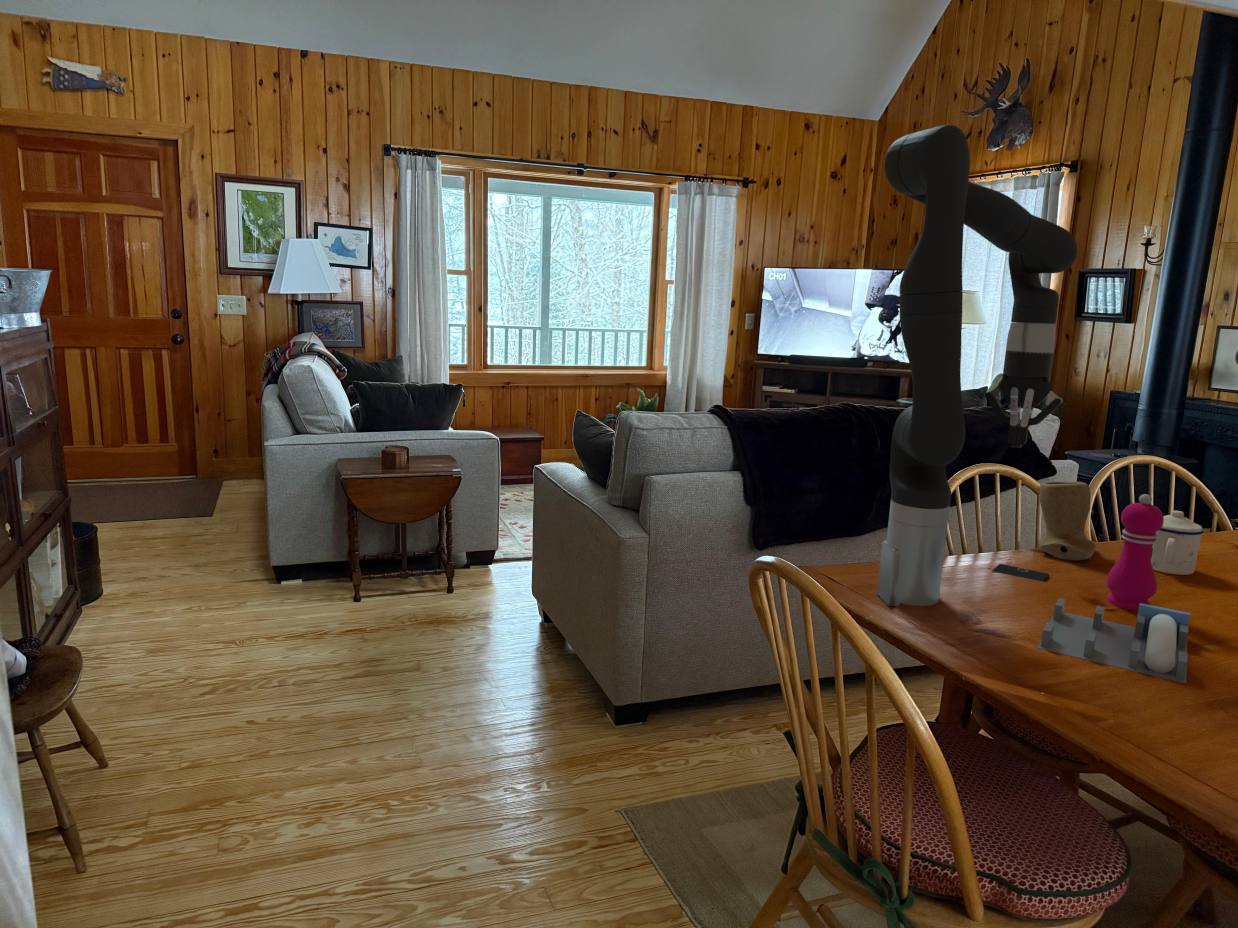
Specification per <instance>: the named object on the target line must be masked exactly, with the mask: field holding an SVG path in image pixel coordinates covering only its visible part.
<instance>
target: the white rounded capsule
mask: <svg viewBox="0 0 1238 928" xmlns="http://www.w3.org/2000/svg"><path fill="white" fill-rule="evenodd" d="M1176 638H1177V623H1176V621H1175V620H1174V619H1173V618H1172V617H1170V616H1169V615H1165V614H1158V615H1155V616H1154V617H1152V619H1151V620H1150V624H1149V631H1148V638H1147V645H1146V652H1145V663H1146V665H1147V666H1148V667H1149V668H1150V669H1151V670H1153V671H1155V672H1158V673H1166V672H1169V671H1171V670H1172V669H1173V668H1174V666H1175V657H1176Z"/></svg>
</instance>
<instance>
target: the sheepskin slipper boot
mask: <svg viewBox="0 0 1238 928" xmlns="http://www.w3.org/2000/svg"><path fill="white" fill-rule="evenodd" d="M1039 503H1040V508H1041V512H1042V515H1043V519H1044V523H1045V528H1046V535H1044V537H1043V538H1042V540H1041V542H1040V545H1039V548H1040V550H1042V551H1043V552H1045V553H1047V554H1048V555H1050V556H1053V557H1055V558H1057V559H1061V560H1065V561H1080V560H1081V561H1083V560H1087V559H1090V558H1091V557H1092V556H1094V553H1095V551H1096V548H1097V543H1096V542H1095V541H1094V540H1091V539H1088V538H1085V536H1084V533H1085V527H1086V523H1087V519H1088V516H1089V514H1090V513H1089V512H1090V510H1091V489H1090V485H1089V484H1087V483H1086V482H1083V481H1058V480H1057V481H1044V482H1042V483H1041V484H1040V486H1039Z"/></svg>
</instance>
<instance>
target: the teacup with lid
mask: <svg viewBox="0 0 1238 928" xmlns="http://www.w3.org/2000/svg"><path fill="white" fill-rule="evenodd" d="M1163 517H1164V523H1163V526H1162V527H1161V529H1159V530H1158V531H1157V532H1156V533H1155V534H1157V536H1158V537H1157V538H1156V541H1157V542H1156V543H1155V544H1153V547H1152V550H1151V564H1152V568H1153V571H1156V572H1160V573H1163V574H1169V575H1177V576H1189V575H1193V574H1194V573H1195V570H1196V565H1197V559H1198V554H1199V549H1200V545H1201V544H1200V543H1201V538H1202V534H1203V533H1204V529H1203V527H1202V525H1200V524H1198V523H1195V522H1193V521H1192V520H1190V519H1189V518H1187V517H1186V516H1185V514H1184V511H1180V510H1172V511H1171V514H1167V515H1163Z"/></svg>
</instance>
